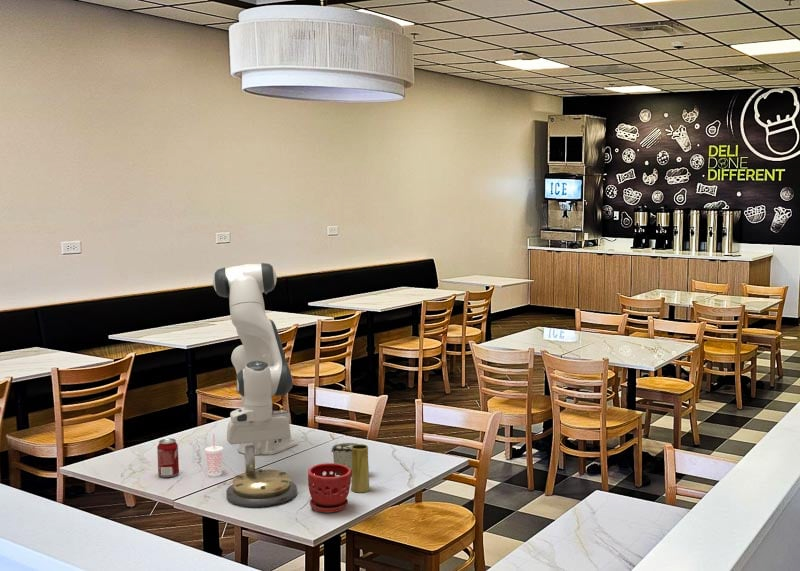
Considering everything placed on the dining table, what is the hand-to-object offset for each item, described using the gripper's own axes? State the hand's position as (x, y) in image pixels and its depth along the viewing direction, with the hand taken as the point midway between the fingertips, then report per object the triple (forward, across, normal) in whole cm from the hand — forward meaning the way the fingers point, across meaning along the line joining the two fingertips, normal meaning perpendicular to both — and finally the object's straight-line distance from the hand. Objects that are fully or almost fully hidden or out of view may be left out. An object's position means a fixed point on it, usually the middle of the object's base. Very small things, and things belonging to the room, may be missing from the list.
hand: (259, 454), depth 269 cm
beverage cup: (+11, +12, -19) cm, 25 cm away
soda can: (+11, +26, -24) cm, 37 cm away
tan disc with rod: (+9, +1, +7) cm, 11 cm away
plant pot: (+11, -16, +25) cm, 32 cm away
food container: (+11, -32, -2) cm, 34 cm away
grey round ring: (+11, +1, +7) cm, 13 cm away
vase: (+11, -30, +14) cm, 35 cm away
